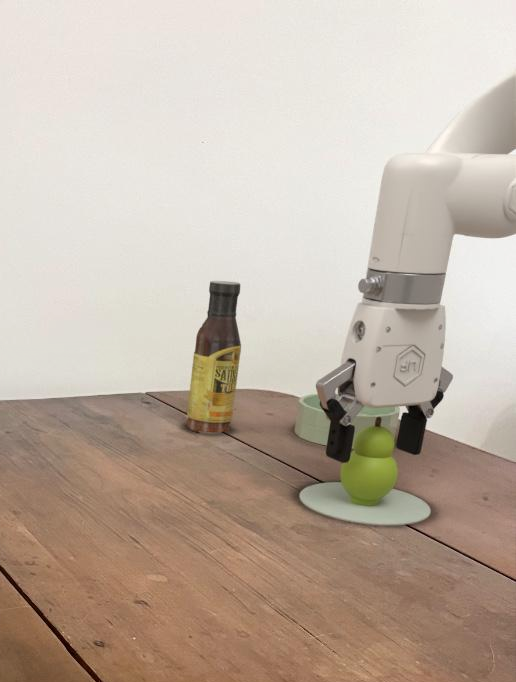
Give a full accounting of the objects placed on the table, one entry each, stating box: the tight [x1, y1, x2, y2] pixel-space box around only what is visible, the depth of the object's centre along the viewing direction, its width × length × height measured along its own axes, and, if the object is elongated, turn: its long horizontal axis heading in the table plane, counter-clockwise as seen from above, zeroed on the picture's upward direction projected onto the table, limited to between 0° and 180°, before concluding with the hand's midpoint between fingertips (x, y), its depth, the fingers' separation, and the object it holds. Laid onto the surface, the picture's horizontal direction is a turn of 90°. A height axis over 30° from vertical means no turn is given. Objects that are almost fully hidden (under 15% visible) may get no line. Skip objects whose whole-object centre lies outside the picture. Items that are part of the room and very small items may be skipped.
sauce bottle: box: [186, 280, 242, 434], centre depth 125 cm, size 6×6×20 cm
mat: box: [299, 481, 432, 526], centre depth 102 cm, size 14×14×1 cm
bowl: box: [293, 392, 401, 450], centre depth 126 cm, size 13×13×5 cm
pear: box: [339, 417, 399, 506], centre depth 100 cm, size 6×6×10 cm
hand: (372, 455), depth 99 cm, fingers open, 9 cm apart
